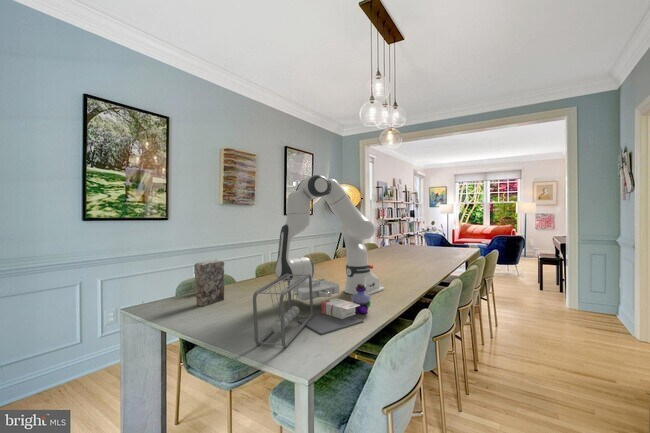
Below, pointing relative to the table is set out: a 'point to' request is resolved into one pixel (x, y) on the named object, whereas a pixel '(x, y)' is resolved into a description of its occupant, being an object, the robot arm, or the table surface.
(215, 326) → the table surface
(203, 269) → the stone block
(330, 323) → the mat
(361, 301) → the potion bottle
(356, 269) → the robot arm
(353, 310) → the ink cartridge box
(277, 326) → the newton's cradle
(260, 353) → the table surface
